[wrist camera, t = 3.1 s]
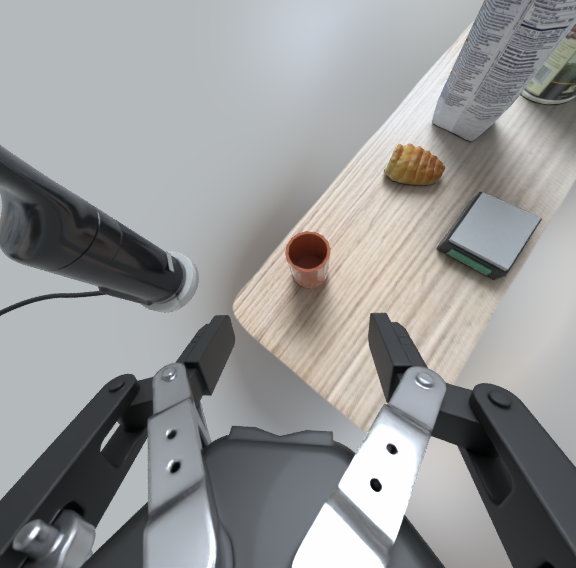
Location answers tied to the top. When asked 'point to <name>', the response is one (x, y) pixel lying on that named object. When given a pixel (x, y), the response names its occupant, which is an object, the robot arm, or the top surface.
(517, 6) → the juice carton
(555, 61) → the coffee can
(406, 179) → the pastry
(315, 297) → the top surface
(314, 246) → the terracotta flower pot
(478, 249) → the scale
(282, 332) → the top surface
